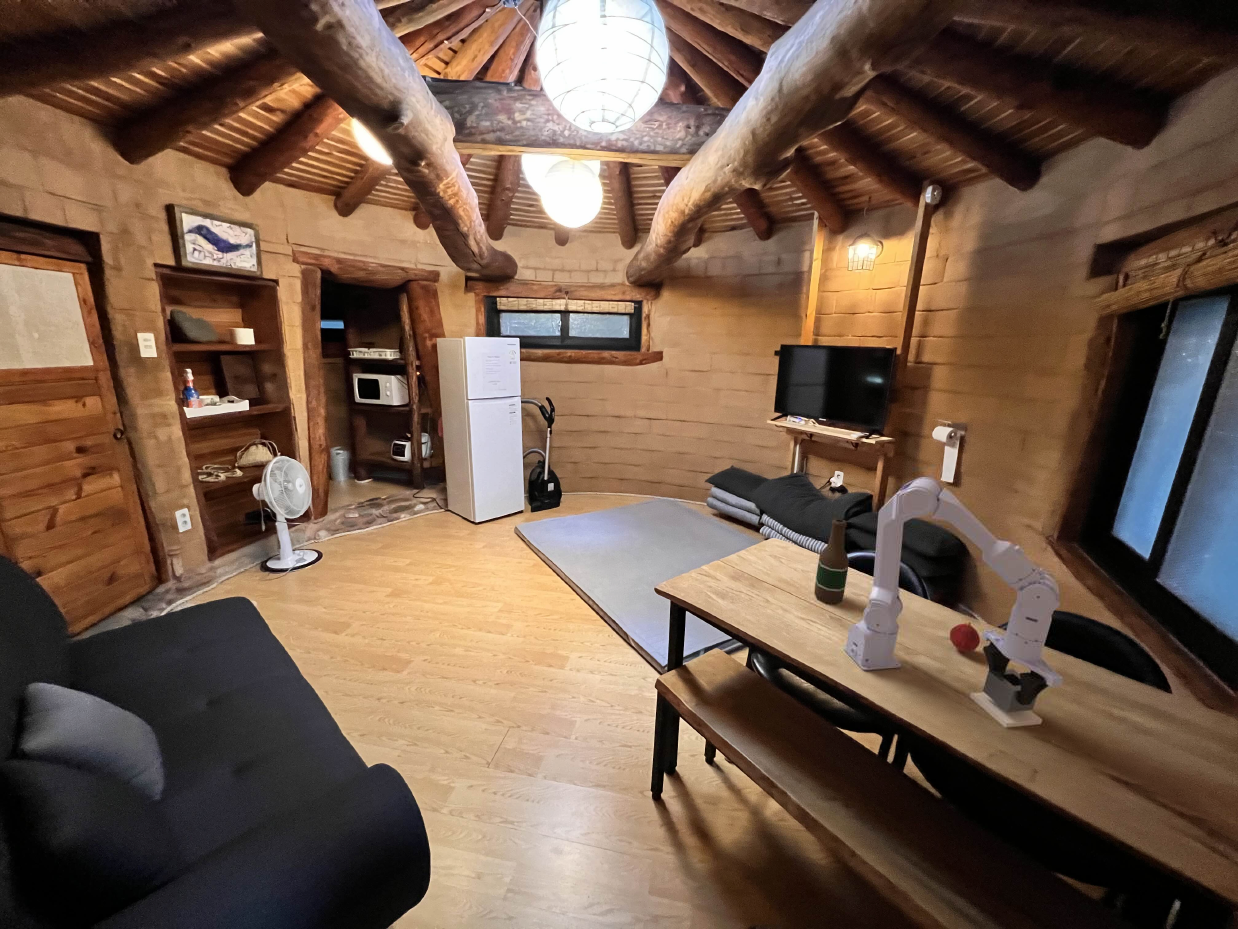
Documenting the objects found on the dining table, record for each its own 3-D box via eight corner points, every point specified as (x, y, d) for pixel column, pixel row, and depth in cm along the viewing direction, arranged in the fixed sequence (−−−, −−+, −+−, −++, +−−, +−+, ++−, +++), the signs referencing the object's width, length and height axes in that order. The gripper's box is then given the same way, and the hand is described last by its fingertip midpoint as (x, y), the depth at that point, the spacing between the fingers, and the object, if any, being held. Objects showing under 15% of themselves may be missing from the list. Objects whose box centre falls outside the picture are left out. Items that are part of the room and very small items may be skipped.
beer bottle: (844, 596, 137) (857, 519, 131) (840, 608, 131) (853, 528, 125) (816, 588, 141) (827, 513, 135) (811, 600, 135) (822, 521, 129)
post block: (1005, 727, 91) (1011, 706, 90) (970, 697, 99) (975, 677, 98) (1041, 723, 92) (1047, 702, 91) (1003, 694, 100) (1009, 674, 99)
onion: (981, 660, 110) (988, 631, 108) (953, 657, 112) (961, 627, 109) (968, 645, 116) (975, 616, 114) (942, 642, 117) (949, 613, 115)
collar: (1007, 712, 92) (1013, 691, 91) (982, 691, 97) (988, 670, 96) (1032, 710, 93) (1039, 689, 91) (1006, 689, 98) (1013, 669, 97)
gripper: (1084, 655, 85) (1064, 718, 88) (1009, 610, 98) (994, 666, 102) (1050, 658, 84) (1031, 721, 87) (979, 612, 97) (965, 668, 101)
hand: (1009, 692), depth 94 cm, fingers closed on collar, 6 cm apart
